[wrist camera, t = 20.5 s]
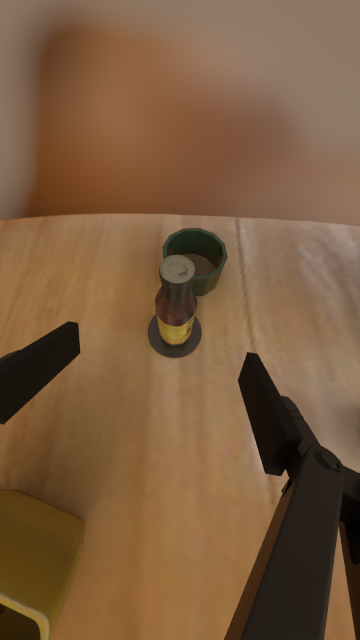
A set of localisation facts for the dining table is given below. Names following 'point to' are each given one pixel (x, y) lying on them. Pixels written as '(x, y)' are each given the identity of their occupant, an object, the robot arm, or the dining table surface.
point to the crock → (201, 245)
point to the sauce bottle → (176, 299)
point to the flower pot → (35, 564)
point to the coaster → (174, 350)
